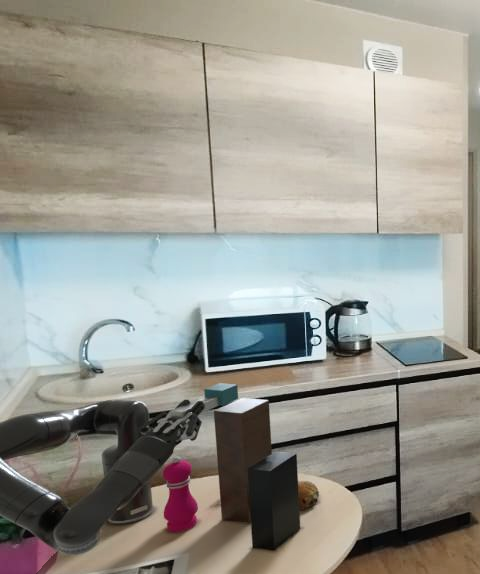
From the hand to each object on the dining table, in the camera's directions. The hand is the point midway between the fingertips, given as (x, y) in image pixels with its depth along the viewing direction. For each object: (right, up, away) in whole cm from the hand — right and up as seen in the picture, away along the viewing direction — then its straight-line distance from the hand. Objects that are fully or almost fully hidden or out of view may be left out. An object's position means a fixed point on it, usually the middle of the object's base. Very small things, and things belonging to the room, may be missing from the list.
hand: (195, 402), depth 142 cm
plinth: (-1, -35, +21) cm, 41 cm away
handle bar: (0, -2, +3) cm, 4 cm away
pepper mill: (-14, -36, +13) cm, 41 cm away
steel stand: (+14, -38, +10) cm, 42 cm away
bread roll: (+10, -35, +27) cm, 46 cm away
